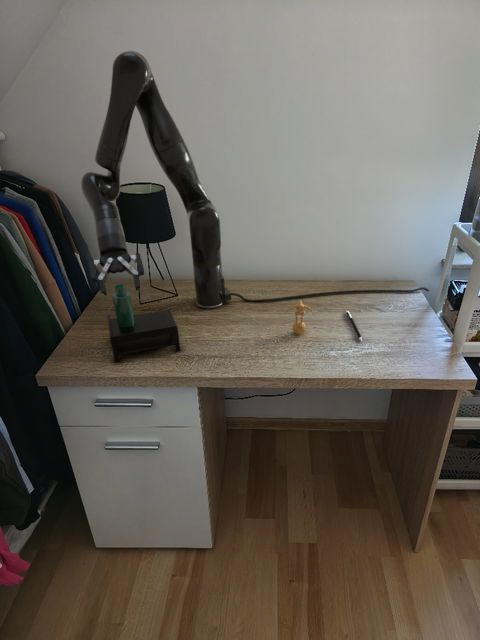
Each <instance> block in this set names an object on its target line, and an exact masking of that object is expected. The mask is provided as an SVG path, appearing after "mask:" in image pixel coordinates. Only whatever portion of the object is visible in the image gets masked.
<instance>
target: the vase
mask: <svg viewBox="0 0 480 640" xmlns="http://www.w3.org/2000/svg"><path fill="white" fill-rule="evenodd" d="M114 289H115V292H114V293H113V294H112V295H111V297H112V302H113V307H114V312H115V318H117V322H118V326H120V327H130V326H132V325H134V324H135V318H134V315H135V313H134V308H133V302H132V295H131V292H130V291H127V290H126V286H125V284H122V283H120V284H116V285H114Z"/></svg>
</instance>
